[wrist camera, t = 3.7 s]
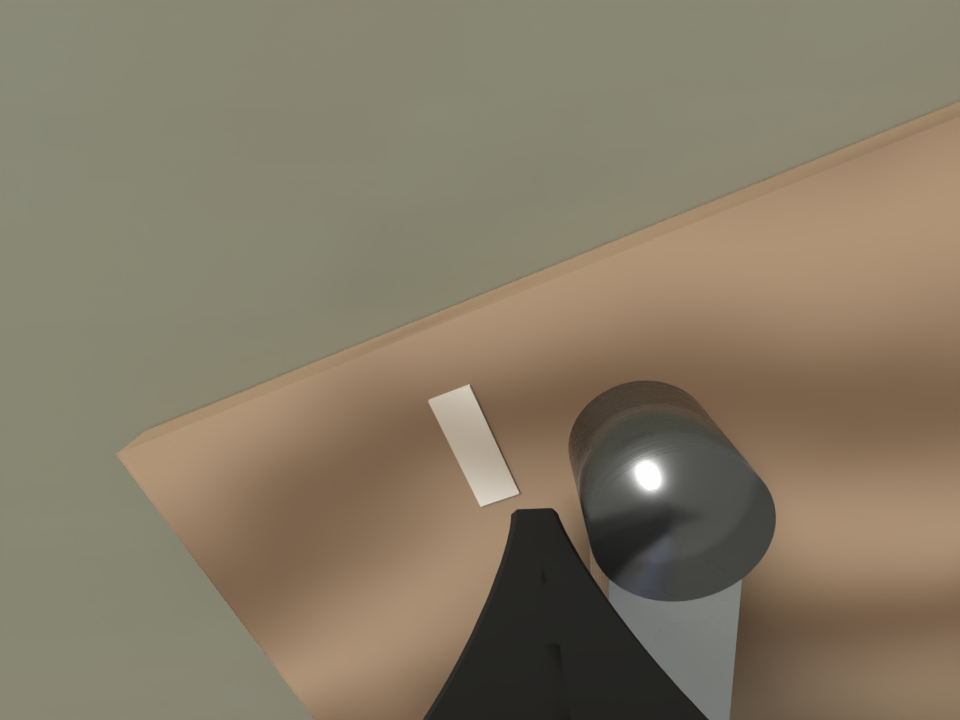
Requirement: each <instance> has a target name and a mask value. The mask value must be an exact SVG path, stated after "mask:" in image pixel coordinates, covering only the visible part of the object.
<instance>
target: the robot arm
mask: <svg viewBox="0 0 960 720" xmlns="http://www.w3.org/2000/svg"><path fill="white" fill-rule="evenodd" d="M423 720H709V719H708V718H707V717H706V716H705V715H704V714H703V713H702V712H701V711H700V710H699V709H698V708H697V706H696V705H695V704H694V703H693V702H692V701H691V700H690V699H689V698H688V697H687V696H686V695H685V694H684V693H683V692H682V690H681V689H680V688H679V687H678V686H677V685H676V684H675V683H674V682H673V680H672V679H671V678H670V677H669V676H668V675H667V674H666V672H665V671H664V670H663V669H662V668H661V667H660V666H659V664H658V663H657V662H656V661H655V660H654V659H653V657H652V656H651V655H650V654H649V653H648V651H647V650H646V649H645V648H644V646H643V645H642V644H641V643H640V641H639V640H638V639H637V638H636V636H635V635H634V634H633V633H632V631H631V630H630V629H629V627H628V626H627V625H626V623H625V622H624V621H623V619H622V618H621V617H620V615H619V614H618V613H617V611H616V610H615V609H614V607H613V606H612V604H611V603H610V602H609V600H608V599H607V597H606V596H605V595H604V593H603V592H602V590H601V589H600V587H599V586H598V584H597V583H596V581H595V580H594V578H593V577H592V575H591V574H590V572H589V571H588V569H587V567H586V566H585V564H584V563H583V561H582V559H581V558H580V556H579V554H578V552H577V551H576V549H575V547H574V546H573V544H572V542H571V540H570V538H569V536H568V535H567V533H566V531H565V529H564V526H563V524H562V522H561V520H560V517H559V515H558V513H557V512H556V511H555V510H554V509H553V508H536V509H517V510H516V511H514V512H513V513H512V514H511V523H510V529H509V534H508V539H507V543H506V546H505V550H504V553H503V556H502V560H501V563H500V565H499V568H498V571H497V574H496V576H495V579H494V582H493V585H492V587H491V590H490V593H489V595H488V598H487V600H486V602H485V604H484V607H483V609H482V611H481V613H480V615H479V618H478V620H477V622H476V624H475V626H474V629H473V631H472V633H471V635H470V637H469V639H468V641H467V643H466V645H465V647H464V649H463V651H462V653H461V655H460V657H459V659H458V661H457V663H456V664H455V666H454V668H453V670H452V672H451V673H450V675H449V677H448V679H447V681H446V682H445V684H444V686H443V688H442V689H441V691H440V693H439V694H438V696H437V698H436V699H435V701H434V702H433V704H432V706H431V707H430V709H429V710H428V712H427V714H426V715H425V717H424V719H423Z"/></svg>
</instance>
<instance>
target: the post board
mask: <svg viewBox="0 0 960 720" xmlns="http://www.w3.org/2000/svg"><path fill="white" fill-rule="evenodd" d="M647 380H650V381H659V382H664V383H668V384H671V385H674V386H676V387H678V388H680V389H682V390H684V391H686V392H687V393H689V394H690V395H691V396H693V397H694V398H695V399H696V400H697V401H698V402H699V404H700V405H701V406H702V407H703V408H704V410H705V411H706V412H707V413H708V415H709V416H710V417H711V418H712V419H713V421H714V422H715V423H716V424H717V426H718V427H719V428H720V429H721V430H722V432H723V433H724V434H725V435H726V437H727V438H728V439H729V440H730V441H731V443H732V444H733V445H734V446H735V447H736V449H737V450H738V451H739V452H740V454H741V455H742V456H743V457H744V458H745V460H746V461H747V462H748V463H749V465H750V466H751V467H752V468H753V469H754V471H755V472H756V473H757V474H758V476H759V477H760V478H761V479H762V481H763V482H764V483H765V485H766V486H767V488H768V489H769V491H770V493H771V495H772V498H773V501H774V505H775V511H776V526H775V531H774V536H773V538H772V541H771V544H770V546H769V548H768V550H767V552H766V554H765V555H764V556H763V558H762V559H761V561H760V562H759V563H758V564H757V565H756V567H755V568H754V569H753V570H752V571H751V572H750V573H748V574H747V575H746V576H745V577H744V578H743V579H742V585H741V596H740V607H739V618H738V629H737V640H736V651H735V662H734V673H733V685H732V696H731V707H730V718H729V720H960V101H959V102H956V103H954V104H951V105H949V106H947V107H944V108H942V109H939V110H937V111H934V112H932V113H929V114H927V115H924V116H922V117H919V118H917V119H914V120H912V121H909V122H907V123H905V124H902V125H900V126H897V127H895V128H892V129H890V130H887V131H885V132H882V133H880V134H877V135H875V136H872V137H870V138H867V139H865V140H863V141H860V142H858V143H855V144H853V145H850V146H848V147H845V148H843V149H840V150H838V151H835V152H833V153H830V154H828V155H825V156H823V157H820V158H818V159H816V160H813V161H811V162H808V163H806V164H803V165H801V166H798V167H796V168H793V169H791V170H788V171H786V172H783V173H781V174H778V175H776V176H774V177H771V178H769V179H766V180H764V181H761V182H759V183H756V184H754V185H751V186H749V187H746V188H744V189H741V190H739V191H736V192H734V193H731V194H729V195H727V196H724V197H722V198H719V199H717V200H714V201H712V202H709V203H707V204H704V205H702V206H699V207H697V208H694V209H692V210H689V211H687V212H685V213H682V214H680V215H677V216H675V217H672V218H670V219H667V220H665V221H662V222H660V223H657V224H655V225H652V226H650V227H647V228H645V229H643V230H640V231H638V232H635V233H633V234H630V235H628V236H625V237H623V238H620V239H618V240H615V241H613V242H610V243H608V244H605V245H603V246H600V247H598V248H596V249H593V250H591V251H588V252H586V253H583V254H581V255H578V256H576V257H573V258H571V259H568V260H566V261H563V262H561V263H558V264H556V265H554V266H551V267H549V268H546V269H544V270H541V271H539V272H536V273H534V274H531V275H529V276H526V277H524V278H521V279H519V280H516V281H514V282H511V283H509V284H507V285H504V286H502V287H499V288H497V289H494V290H492V291H489V292H487V293H484V294H482V295H479V296H477V297H474V298H472V299H469V300H467V301H465V302H462V303H460V304H457V305H455V306H452V307H450V308H447V309H445V310H442V311H440V312H437V313H435V314H432V315H430V316H427V317H425V318H422V319H420V320H418V321H415V322H413V323H410V324H408V325H405V326H403V327H400V328H398V329H395V330H393V331H390V332H388V333H385V334H383V335H380V336H378V337H376V338H373V339H371V340H368V341H366V342H363V343H361V344H358V345H356V346H353V347H351V348H348V349H346V350H343V351H341V352H338V353H336V354H334V355H331V356H329V357H326V358H324V359H321V360H319V361H316V362H314V363H311V364H309V365H306V366H304V367H301V368H299V369H296V370H294V371H291V372H289V373H287V374H284V375H282V376H279V377H277V378H274V379H272V380H269V381H267V382H264V383H262V384H259V385H257V386H254V387H252V388H249V389H247V390H245V391H242V392H240V393H237V394H235V395H232V396H230V397H227V398H225V399H222V400H220V401H217V402H215V403H212V404H210V405H207V406H205V407H202V408H200V409H198V410H195V411H193V412H190V413H188V414H185V415H183V416H180V417H178V418H175V419H173V420H170V421H168V422H165V423H163V424H160V425H158V426H156V427H153V428H151V429H148V430H146V431H145V432H144V433H142V434H141V435H140V436H139V437H137V438H136V439H135V440H133V441H132V442H131V443H130V444H128V445H127V446H126V447H125V448H123V449H122V450H121V451H119V452H118V453H117V454H116V455H117V456H118V458H119V459H120V460H121V462H122V463H123V464H124V466H125V467H126V468H127V470H128V471H129V472H130V474H131V475H132V476H133V478H134V479H135V480H136V482H137V483H138V484H139V486H140V487H141V488H142V490H143V491H144V492H145V494H146V495H147V496H148V498H149V499H150V500H151V502H152V503H153V505H154V506H155V507H156V509H157V510H158V511H159V513H160V514H161V515H162V517H163V518H164V519H165V521H166V522H167V523H168V525H169V526H170V527H171V529H172V530H173V531H174V533H175V534H176V535H177V537H178V538H179V539H180V541H181V542H182V543H183V545H184V546H185V547H186V549H187V550H188V551H189V553H190V554H191V555H192V557H193V558H194V559H195V561H196V562H197V563H198V565H199V566H200V567H201V569H202V570H203V571H204V573H205V574H206V575H207V577H208V578H209V579H210V581H211V582H212V583H213V585H214V586H215V587H216V589H217V590H218V591H219V593H220V594H221V595H222V597H223V598H224V599H225V601H226V602H227V603H228V605H229V606H230V607H231V609H232V610H233V612H234V613H235V614H236V616H237V617H238V618H239V620H240V621H241V622H242V624H243V625H244V626H245V628H246V629H247V630H248V632H249V633H250V634H251V636H252V637H253V638H254V640H255V641H256V642H257V644H258V645H259V646H260V648H261V649H262V650H263V652H264V653H265V654H266V656H267V657H268V658H269V660H270V661H271V662H272V664H273V665H274V666H275V668H276V669H277V670H278V672H279V673H280V674H281V676H282V677H283V678H284V680H285V681H286V682H287V684H288V685H289V686H290V688H291V689H292V690H293V692H294V693H295V694H296V696H297V697H298V698H299V700H300V701H301V702H302V704H303V705H304V706H305V708H306V709H307V710H308V712H309V713H310V715H311V716H312V717H313V719H314V720H423V719H424V717H425V715H426V714H427V712H428V710H429V709H430V707H431V706H432V704H433V702H434V701H435V699H436V698H437V696H438V694H439V693H440V691H441V689H442V688H443V686H444V684H445V682H446V681H447V679H448V677H449V675H450V673H451V672H452V670H453V668H454V666H455V664H456V663H457V661H458V659H459V657H460V655H461V653H462V651H463V649H464V647H465V645H466V643H467V641H468V639H469V637H470V635H471V633H472V631H473V629H474V626H475V624H476V622H477V620H478V618H479V615H480V613H481V611H482V609H483V607H484V604H485V602H486V600H487V598H488V595H489V593H490V590H491V587H492V585H493V582H494V579H495V576H496V574H497V571H498V568H499V565H500V563H501V560H502V556H503V553H504V550H505V546H506V543H507V539H508V534H509V529H510V523H511V514H512V513H513V512H514V511H516V510H517V509H536V508H553V509H554V510H555V511H556V512H557V513H558V515H559V517H560V520H561V522H562V524H563V526H564V529H565V531H566V533H567V535H568V536H569V538H570V540H571V542H572V544H573V546H574V547H575V549H576V551H577V552H578V554H579V556H580V558H581V559H582V561H583V563H584V564H585V566H586V567H587V569H588V571H589V572H590V574H591V571H590V544H589V538H588V534H587V530H586V526H585V522H584V517H583V513H582V509H581V505H580V501H579V497H578V493H577V489H576V484H575V480H574V476H573V472H572V468H571V464H570V460H569V452H568V443H569V437H570V433H571V430H572V427H573V425H574V423H575V421H576V419H577V417H578V416H579V414H580V413H581V411H582V410H583V409H584V408H585V407H586V405H587V404H588V403H590V402H591V401H592V400H593V399H594V398H595V397H597V396H598V395H600V394H601V393H603V392H605V391H606V390H608V389H610V388H613V387H615V386H618V385H620V384H624V383H628V382H634V381H647Z"/></svg>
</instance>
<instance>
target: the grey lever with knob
mask: <svg viewBox="0 0 960 720" xmlns="http://www.w3.org/2000/svg"><path fill="white" fill-rule="evenodd" d="M568 452H569V460H570V464H571V468H572V472H573V476H574V480H575V484H576V489H577V493H578V497H579V501H580V505H581V509H582V513H583V517H584V522H585V526H586V530H587V534H588V538H589V544H590V571H591V575H592V577H593V578H594V580H595V581H596V583H597V584H598V586H599V587H600V589H601V590H602V592H603V593H604V595H605V596H606V597H607V599H608V600H609V602H610V603H611V604H612V606H613V607H614V609H615V610H616V611H617V613H618V614H619V615H620V617H621V618H622V619H623V621H624V622H625V623H626V625H627V626H628V627H629V629H630V630H631V631H632V633H633V634H634V635H635V636H636V638H637V639H638V640H639V641H640V643H641V644H642V645H643V646H644V648H645V649H646V650H647V651H648V653H649V654H650V655H651V656H652V657H653V659H654V660H655V661H656V662H657V663H658V664H659V666H660V667H661V668H662V669H663V670H664V671H665V672H666V674H667V675H668V676H669V677H670V678H671V679H672V680H673V682H674V683H675V684H676V685H677V686H678V687H679V688H680V689H681V690H682V692H683V693H684V694H685V695H686V696H687V697H688V698H689V699H690V700H691V701H692V702H693V703H694V704H695V705H696V706H697V708H698V709H699V710H700V711H701V712H702V713H703V714H704V715H705V716H706V717H707V718H708V719H709V720H729V718H730V707H731V696H732V685H733V673H734V662H735V651H736V640H737V629H738V618H739V607H740V596H741V585H742V579H743V578H744V577H745V576H746V575H747V574H748V573H750V572H751V571H752V570H753V569H754V568H755V567H756V565H757V564H758V563H759V562H760V561H761V559H762V558H763V556H764V555H765V554H766V552H767V550H768V548H769V546H770V544H771V541H772V538H773V536H774V531H775V526H776V511H775V505H774V501H773V498H772V495H771V493H770V491H769V489H768V488H767V486H766V485H765V483H764V482H763V481H762V479H761V478H760V477H759V476H758V474H757V473H756V472H755V471H754V469H753V468H752V467H751V466H750V465H749V463H748V462H747V461H746V460H745V458H744V457H743V456H742V455H741V454H740V452H739V451H738V450H737V449H736V447H735V446H734V445H733V444H732V443H731V441H730V440H729V439H728V438H727V437H726V435H725V434H724V433H723V432H722V430H721V429H720V428H719V427H718V426H717V424H716V423H715V422H714V421H713V419H712V418H711V417H710V416H709V415H708V413H707V412H706V411H705V410H704V408H703V407H702V406H701V405H700V404H699V402H698V401H697V400H696V399H695V398H694V397H693V396H691V395H690V394H689V393H687V392H686V391H684V390H682V389H680V388H678V387H676V386H674V385H671V384H668V383H664V382H659V381H650V380H647V381H634V382H628V383H624V384H620V385H618V386H615V387H613V388H610V389H608V390H606V391H605V392H603V393H601V394H600V395H598V396H597V397H595V398H594V399H593V400H592V401H591V402H590V403H588V404H587V405H586V407H585V408H584V409H583V410H582V411H581V413H580V414H579V416H578V417H577V419H576V421H575V423H574V425H573V427H572V430H571V433H570V437H569V443H568Z"/></svg>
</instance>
